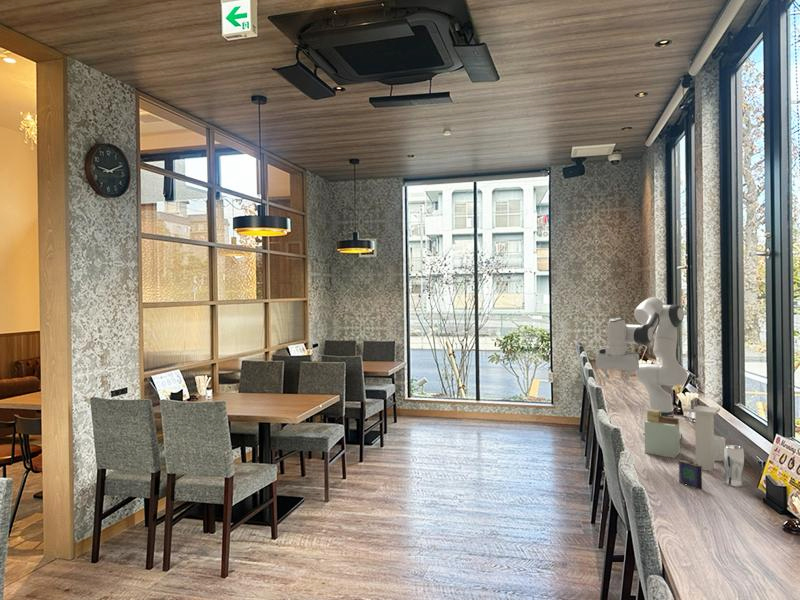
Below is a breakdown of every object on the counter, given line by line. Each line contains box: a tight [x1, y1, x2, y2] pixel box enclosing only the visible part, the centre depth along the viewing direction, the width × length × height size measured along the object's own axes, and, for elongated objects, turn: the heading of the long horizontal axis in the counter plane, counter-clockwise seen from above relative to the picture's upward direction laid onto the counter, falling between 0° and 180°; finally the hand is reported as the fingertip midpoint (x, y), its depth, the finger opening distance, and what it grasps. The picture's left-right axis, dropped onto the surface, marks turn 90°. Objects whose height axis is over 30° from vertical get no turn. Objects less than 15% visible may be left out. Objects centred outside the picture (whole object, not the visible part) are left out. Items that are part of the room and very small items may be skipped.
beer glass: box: [723, 444, 745, 488], centre depth 209 cm, size 7×7×15 cm
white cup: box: [714, 435, 726, 462], centre depth 243 cm, size 8×8×10 cm
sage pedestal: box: [644, 420, 681, 459], centre depth 253 cm, size 10×13×15 cm
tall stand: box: [683, 397, 721, 472], centre depth 231 cm, size 12×12×30 cm
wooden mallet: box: [646, 408, 680, 425], centre depth 253 cm, size 5×13×5 cm, turn 50°
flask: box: [678, 458, 703, 490], centre depth 209 cm, size 9×3×11 cm, turn 26°
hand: (617, 378), depth 260 cm, fingers open, 8 cm apart
